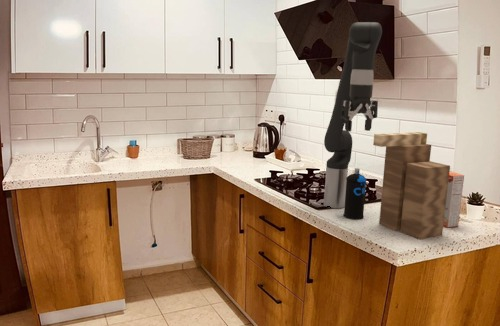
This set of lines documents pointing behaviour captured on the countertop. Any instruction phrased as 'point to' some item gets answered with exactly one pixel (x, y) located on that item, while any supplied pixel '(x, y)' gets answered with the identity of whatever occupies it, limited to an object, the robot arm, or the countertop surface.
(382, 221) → the brown stepped wooden block
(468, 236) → the countertop surface
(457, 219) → the cracker box
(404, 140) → the maple bar
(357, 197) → the aerosol can
